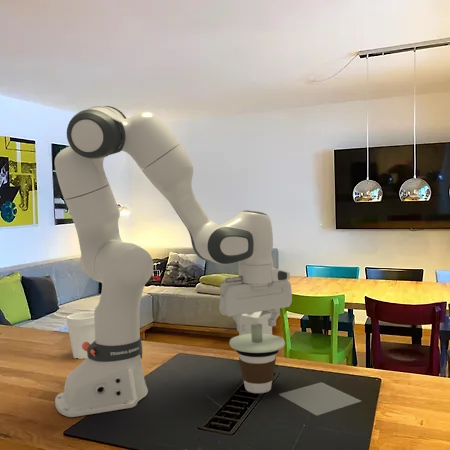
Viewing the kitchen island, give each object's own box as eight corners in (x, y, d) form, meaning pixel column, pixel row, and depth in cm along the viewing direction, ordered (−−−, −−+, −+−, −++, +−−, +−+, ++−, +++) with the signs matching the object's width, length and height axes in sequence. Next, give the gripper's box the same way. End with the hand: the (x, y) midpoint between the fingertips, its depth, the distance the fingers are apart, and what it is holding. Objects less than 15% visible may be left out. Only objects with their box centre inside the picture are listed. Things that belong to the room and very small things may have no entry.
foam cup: (104, 353, 152) (103, 314, 152) (82, 362, 145) (80, 320, 144) (84, 349, 158) (83, 311, 157) (62, 357, 150) (60, 317, 149)
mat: (316, 418, 104) (316, 415, 104) (278, 396, 116) (278, 394, 116) (361, 403, 111) (361, 401, 111) (321, 384, 123) (321, 382, 123)
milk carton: (253, 357, 145) (252, 297, 145) (272, 362, 141) (271, 299, 140) (239, 364, 140) (238, 301, 139) (259, 369, 135) (258, 304, 135)
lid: (249, 356, 110) (248, 335, 110) (219, 342, 122) (219, 323, 122) (296, 346, 117) (295, 326, 117) (263, 333, 129) (263, 315, 129)
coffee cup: (230, 396, 117) (229, 348, 116) (244, 380, 127) (243, 336, 127) (273, 401, 113) (272, 352, 113) (283, 384, 123) (283, 339, 123)
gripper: (227, 280, 111) (228, 338, 112) (295, 272, 121) (295, 325, 122) (214, 276, 116) (215, 332, 117) (280, 269, 127) (281, 320, 127)
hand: (256, 328), depth 119 cm, fingers open, 8 cm apart
